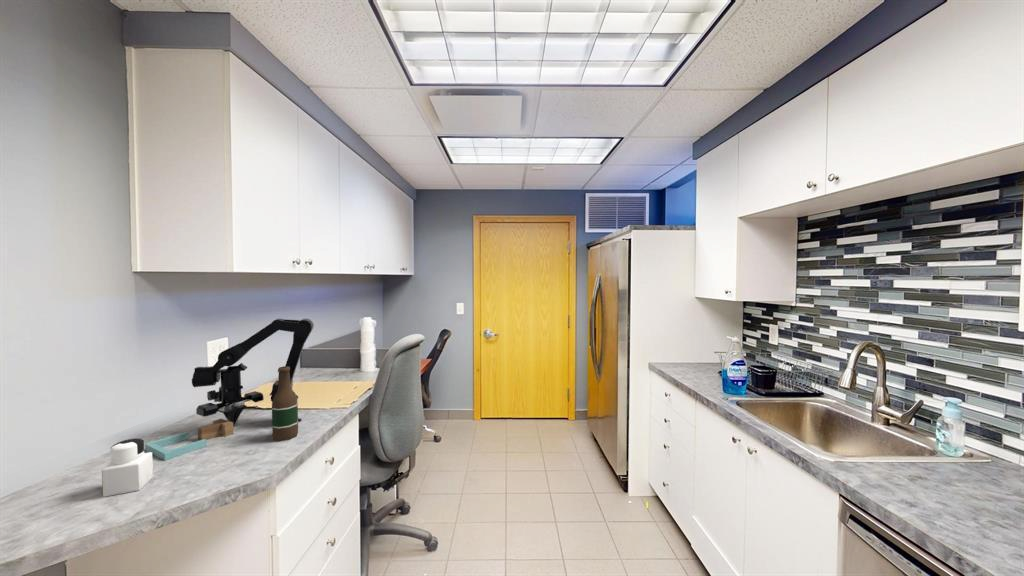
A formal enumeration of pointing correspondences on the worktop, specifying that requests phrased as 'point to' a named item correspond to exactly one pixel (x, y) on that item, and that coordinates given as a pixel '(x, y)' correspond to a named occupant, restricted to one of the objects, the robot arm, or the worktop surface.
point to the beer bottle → (284, 408)
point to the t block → (215, 429)
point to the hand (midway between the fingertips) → (232, 426)
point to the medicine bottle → (127, 468)
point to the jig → (168, 454)
